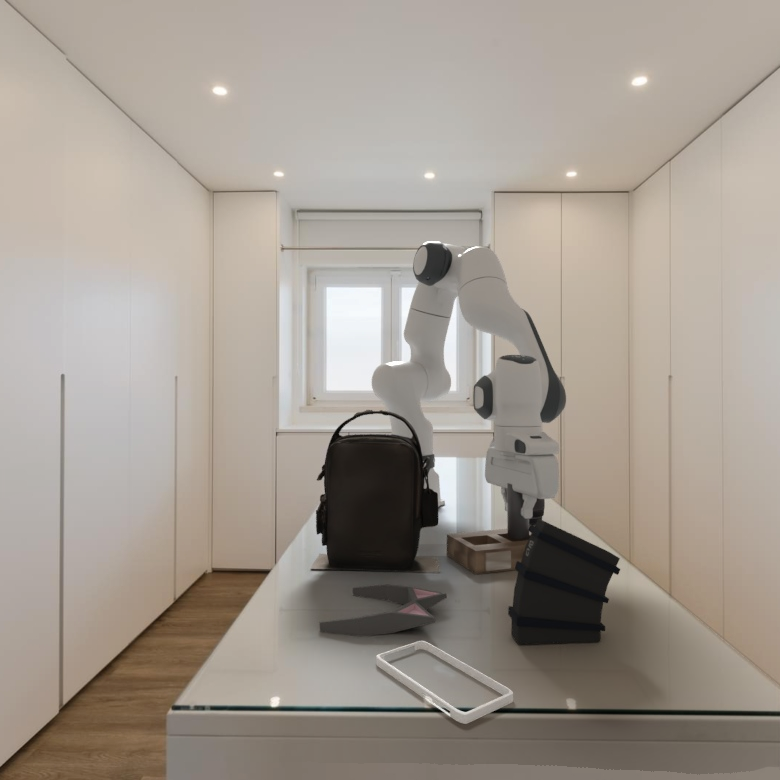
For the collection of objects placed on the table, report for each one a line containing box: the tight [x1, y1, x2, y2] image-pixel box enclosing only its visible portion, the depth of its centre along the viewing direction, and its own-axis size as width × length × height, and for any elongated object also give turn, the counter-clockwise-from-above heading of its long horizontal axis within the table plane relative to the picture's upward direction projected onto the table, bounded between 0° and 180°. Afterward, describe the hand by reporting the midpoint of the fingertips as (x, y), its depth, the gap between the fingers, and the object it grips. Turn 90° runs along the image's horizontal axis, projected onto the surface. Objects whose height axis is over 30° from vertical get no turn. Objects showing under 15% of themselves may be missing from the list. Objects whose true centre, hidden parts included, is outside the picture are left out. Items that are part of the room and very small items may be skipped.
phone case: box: [375, 640, 514, 725], centre depth 62 cm, size 7×1×15 cm
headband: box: [318, 584, 447, 637], centre depth 79 cm, size 14×3×15 cm
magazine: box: [507, 519, 621, 646], centre depth 72 cm, size 4×13×15 cm, turn 95°
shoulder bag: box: [310, 409, 441, 574], centre depth 103 cm, size 23×9×28 cm, turn 87°
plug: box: [506, 483, 530, 539], centre depth 107 cm, size 4×4×10 cm
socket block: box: [446, 528, 531, 575], centre depth 105 cm, size 12×16×4 cm
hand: (518, 514), depth 107 cm, fingers closed on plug, 4 cm apart
